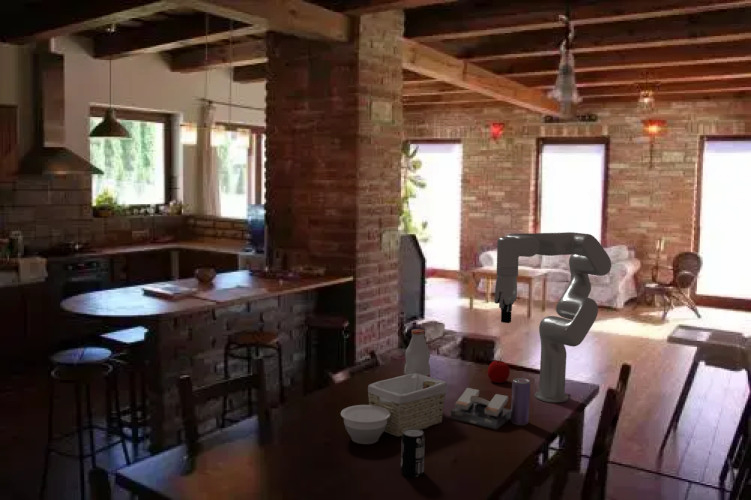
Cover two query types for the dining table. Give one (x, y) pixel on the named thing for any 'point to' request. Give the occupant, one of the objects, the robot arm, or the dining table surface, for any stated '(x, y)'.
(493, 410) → the rocker
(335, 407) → the dining table surface
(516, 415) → the beverage can
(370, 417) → the bowl
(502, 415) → the switch unit
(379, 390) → the storage basket
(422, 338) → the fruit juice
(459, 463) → the dining table surface
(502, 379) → the fruit
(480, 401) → the rocker
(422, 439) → the beverage can
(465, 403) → the rocker
